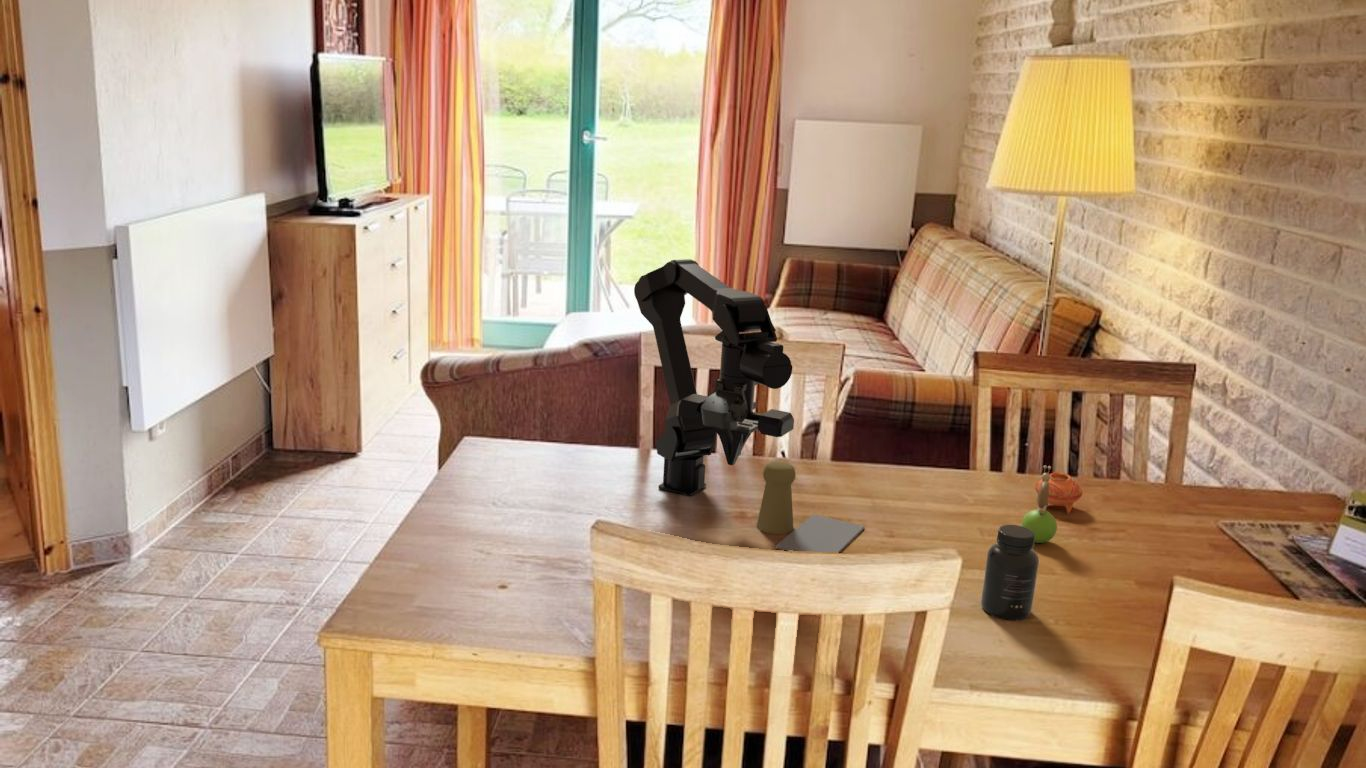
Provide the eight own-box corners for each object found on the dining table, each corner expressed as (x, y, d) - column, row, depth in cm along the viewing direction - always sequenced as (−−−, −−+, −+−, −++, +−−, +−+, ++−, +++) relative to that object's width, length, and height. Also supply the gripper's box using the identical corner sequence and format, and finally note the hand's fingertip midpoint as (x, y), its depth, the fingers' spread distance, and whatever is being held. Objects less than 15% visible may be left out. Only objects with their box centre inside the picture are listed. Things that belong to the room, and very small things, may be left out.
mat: (775, 548, 166) (775, 545, 166) (813, 516, 180) (813, 514, 180) (829, 562, 162) (830, 559, 162) (864, 528, 176) (864, 526, 176)
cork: (791, 536, 171) (796, 471, 168) (754, 531, 172) (758, 467, 169) (795, 522, 177) (800, 459, 174) (759, 518, 178) (763, 455, 175)
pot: (1092, 510, 189) (1092, 476, 186) (1058, 525, 186) (1058, 491, 184) (1058, 493, 196) (1058, 460, 193) (1026, 507, 193) (1025, 474, 190)
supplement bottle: (973, 598, 153) (983, 520, 149) (1019, 599, 153) (1030, 521, 150) (990, 621, 146) (1002, 540, 143) (1038, 622, 147) (1051, 541, 143)
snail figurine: (1054, 536, 177) (1064, 467, 174) (1054, 550, 171) (1064, 479, 168) (1020, 530, 179) (1030, 462, 176) (1019, 544, 173) (1028, 474, 170)
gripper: (662, 373, 169) (658, 466, 173) (770, 394, 161) (763, 491, 165) (695, 360, 179) (690, 448, 183) (798, 379, 171) (790, 471, 175)
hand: (731, 464), depth 176 cm, fingers closed
